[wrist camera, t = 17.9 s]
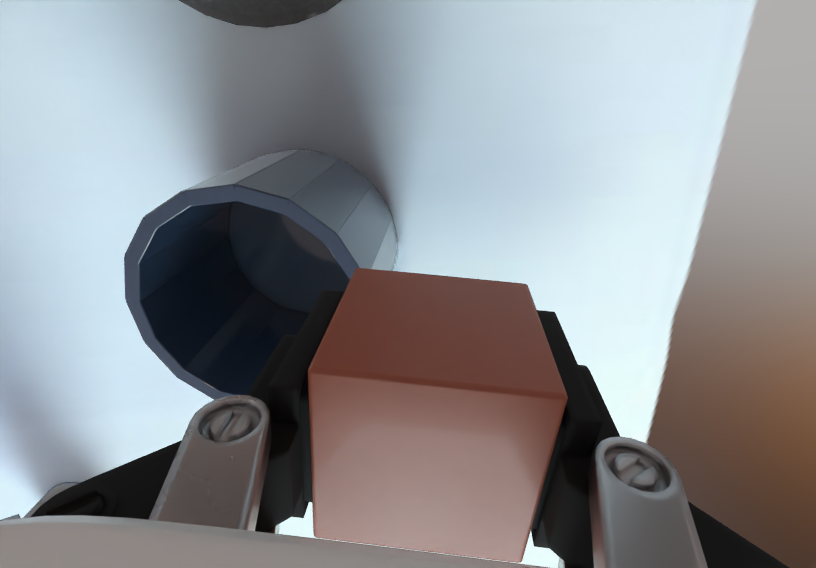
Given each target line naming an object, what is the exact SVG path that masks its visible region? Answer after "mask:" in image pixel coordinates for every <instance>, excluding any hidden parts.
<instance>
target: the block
mask: <svg viewBox="0 0 816 568" xmlns="http://www.w3.org/2000/svg"><path fill="white" fill-rule="evenodd" d="M308 391H309V419H310V447H311V475H312V503H313V531H314V536H315V537H317V538H323V539H331V540H339V541H347V542H356V543H364V544H372V545H380V546H388V547H396V548H404V549H412V550H420V551H428V552H436V553H444V554H452V555H460V556H468V557H476V558H484V559H492V560H500V561H508V562H516V563H519V562H521V561H522V559H523V555H524V551H525V548H526V544H527V541H528V537H529V534H530V530H531V527H532V523H533V520H534V516H535V512H536V509H537V505H538V502H539V498H540V495H541V491H542V488H543V484H544V480H545V477H546V473H547V470H548V466H549V463H550V459H551V456H552V452H553V449H554V445H555V441H556V438H557V434H558V431H559V427H560V424H561V420H562V417H563V413H564V409H565V406H566V402H567V399H568V397H567V393H566V390H565V388H564V385H563V382H562V379H561V377H560V374H559V371H558V368H557V366H556V363H555V360H554V357H553V355H552V352H551V349H550V346H549V343H548V341H547V338H546V335H545V332H544V330H543V327H542V324H541V321H540V319H539V316H538V313H537V310H536V308H535V305H534V302H533V299H532V296H531V294H530V291H529V288H528V285H526V284H522V283H511V282H501V281H491V280H480V279H470V278H459V277H449V276H439V275H428V274H418V273H408V272H397V271H387V270H376V269H366V268H356V269H355V271H354V273H353V275H352V277H351V279H350V282H349V284H348V286H347V288H346V290H345V292H344V294H343V296H342V299H341V301H340V303H339V305H338V307H337V309H336V311H335V313H334V315H333V318H332V320H331V322H330V324H329V326H328V328H327V330H326V332H325V335H324V337H323V339H322V341H321V343H320V345H319V347H318V349H317V351H316V354H315V356H314V358H313V360H312V362H311V364H310V366H309V368H308Z"/></svg>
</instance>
